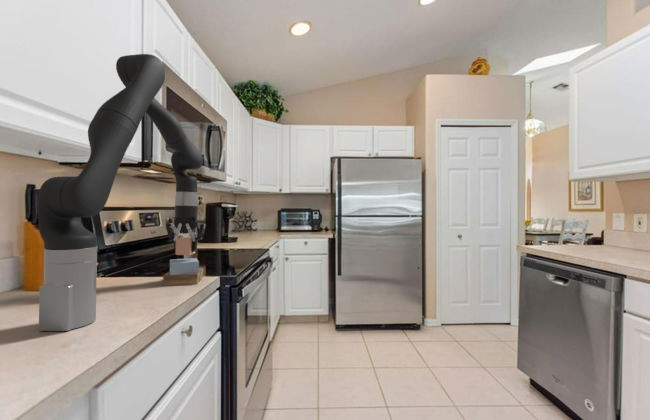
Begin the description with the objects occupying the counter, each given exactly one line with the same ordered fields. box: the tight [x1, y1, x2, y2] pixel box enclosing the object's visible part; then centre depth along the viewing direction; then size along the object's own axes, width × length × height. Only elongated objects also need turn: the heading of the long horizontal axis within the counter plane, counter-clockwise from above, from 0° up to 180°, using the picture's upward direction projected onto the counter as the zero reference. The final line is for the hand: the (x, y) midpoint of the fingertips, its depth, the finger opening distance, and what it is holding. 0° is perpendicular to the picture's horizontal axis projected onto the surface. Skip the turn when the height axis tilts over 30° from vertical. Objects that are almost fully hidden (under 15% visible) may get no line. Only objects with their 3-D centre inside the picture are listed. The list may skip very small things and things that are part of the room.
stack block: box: [175, 236, 196, 256], centre depth 111 cm, size 5×5×6 cm
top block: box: [169, 257, 200, 275], centre depth 111 cm, size 9×9×4 cm
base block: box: [162, 267, 204, 286], centre depth 111 cm, size 11×11×4 cm
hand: (185, 251), depth 111 cm, fingers closed on stack block, 5 cm apart
